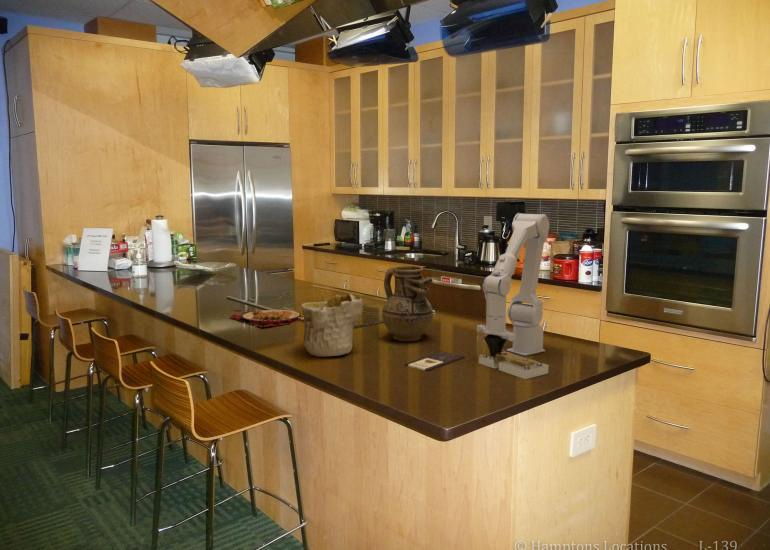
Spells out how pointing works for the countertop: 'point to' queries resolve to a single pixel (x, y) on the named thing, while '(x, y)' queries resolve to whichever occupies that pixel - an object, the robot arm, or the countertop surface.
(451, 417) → the countertop surface
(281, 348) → the countertop surface
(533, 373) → the chain end
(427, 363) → the chocolate bar
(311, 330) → the ceramic vessel
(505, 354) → the riveted link plate
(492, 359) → the chain end
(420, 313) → the decorative pitcher
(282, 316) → the plate with food
